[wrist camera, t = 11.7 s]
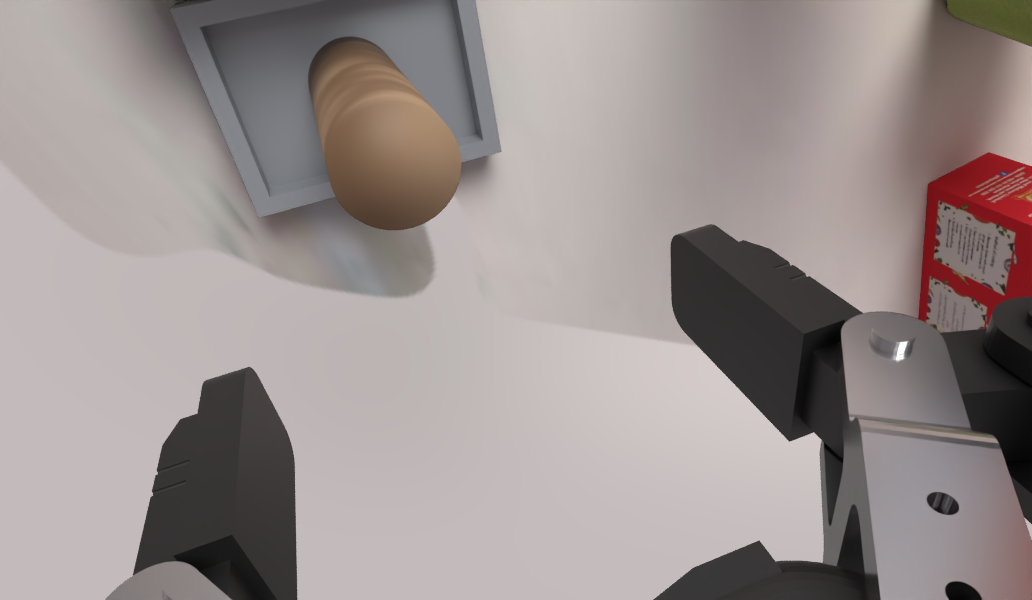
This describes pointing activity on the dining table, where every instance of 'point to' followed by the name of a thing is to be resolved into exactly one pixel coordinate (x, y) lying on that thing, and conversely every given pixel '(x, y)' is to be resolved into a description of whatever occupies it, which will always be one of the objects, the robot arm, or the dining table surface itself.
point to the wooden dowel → (380, 137)
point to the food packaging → (976, 243)
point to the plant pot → (997, 16)
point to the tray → (284, 79)
